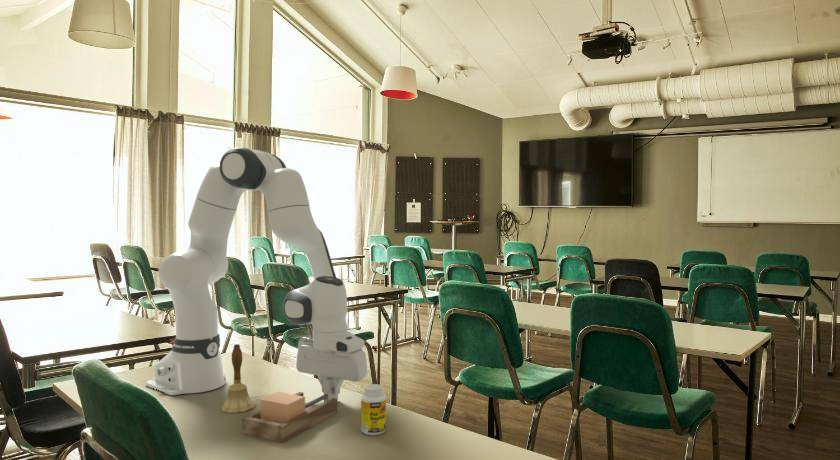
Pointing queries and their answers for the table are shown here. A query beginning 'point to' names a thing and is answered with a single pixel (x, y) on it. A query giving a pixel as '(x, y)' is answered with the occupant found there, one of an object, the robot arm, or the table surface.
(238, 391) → the hand bell
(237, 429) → the table surface
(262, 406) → the pull block
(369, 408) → the supplement bottle
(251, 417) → the shelf lane
